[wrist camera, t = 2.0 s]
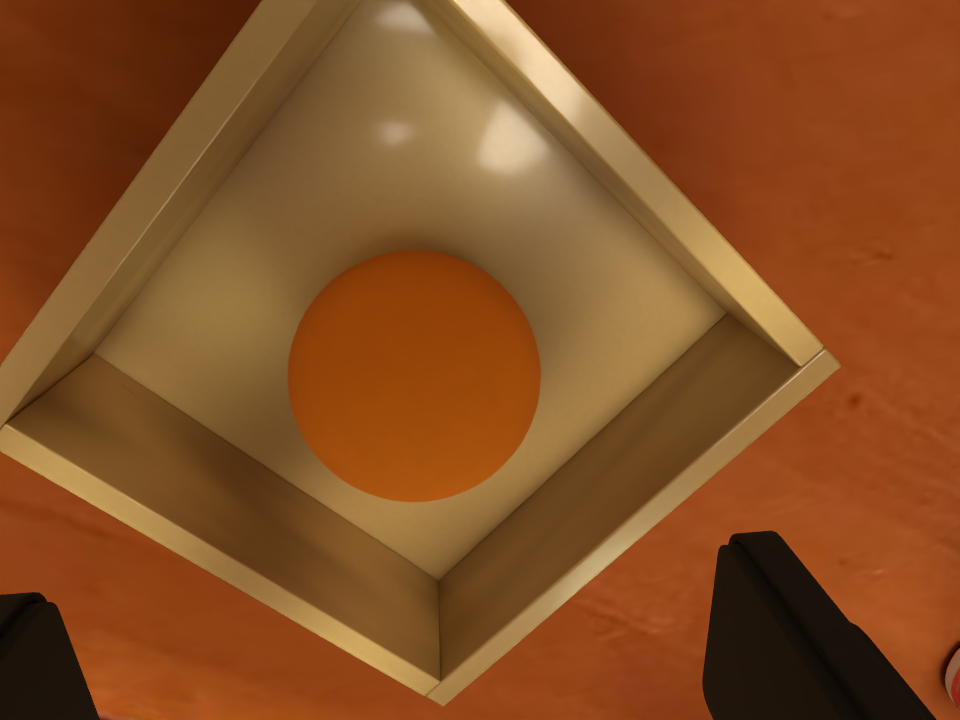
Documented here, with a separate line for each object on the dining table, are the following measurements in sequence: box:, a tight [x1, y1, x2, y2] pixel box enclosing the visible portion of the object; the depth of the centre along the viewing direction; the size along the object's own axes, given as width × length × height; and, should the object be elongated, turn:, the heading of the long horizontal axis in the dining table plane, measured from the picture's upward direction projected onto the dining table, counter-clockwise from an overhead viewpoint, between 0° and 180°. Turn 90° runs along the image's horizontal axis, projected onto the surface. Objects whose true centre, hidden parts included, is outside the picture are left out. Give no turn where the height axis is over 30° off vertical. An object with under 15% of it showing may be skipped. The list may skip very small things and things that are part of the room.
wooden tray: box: [0, 0, 841, 706], centre depth 18 cm, size 16×16×5 cm
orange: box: [288, 250, 541, 502], centre depth 17 cm, size 7×7×7 cm
